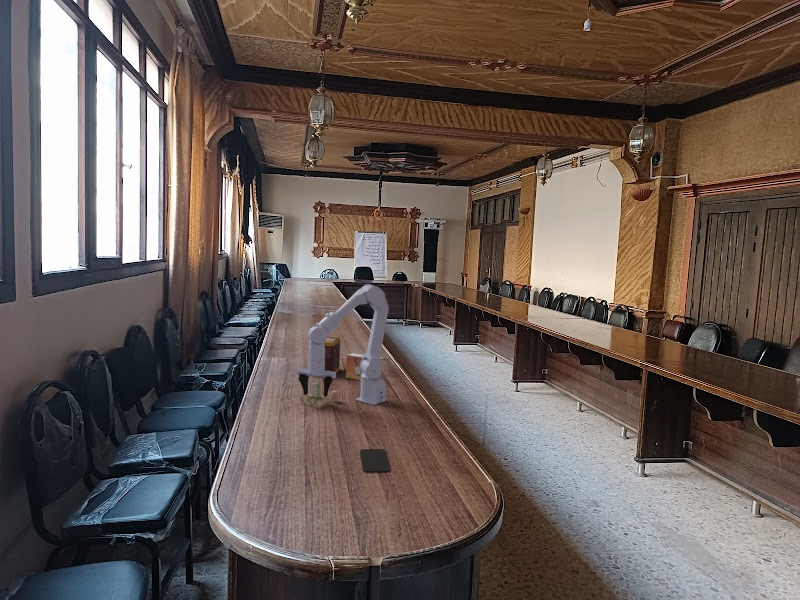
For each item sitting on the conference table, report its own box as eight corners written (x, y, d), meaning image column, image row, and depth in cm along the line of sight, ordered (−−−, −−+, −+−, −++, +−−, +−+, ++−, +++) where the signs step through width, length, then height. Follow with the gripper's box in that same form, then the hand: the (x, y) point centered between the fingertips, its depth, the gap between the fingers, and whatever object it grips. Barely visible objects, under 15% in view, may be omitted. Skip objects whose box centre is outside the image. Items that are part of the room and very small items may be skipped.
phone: (362, 471, 143) (359, 449, 158) (362, 474, 143) (359, 451, 158) (390, 470, 144) (385, 448, 159) (390, 473, 144) (384, 451, 159)
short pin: (339, 401, 204) (339, 391, 204) (334, 403, 202) (334, 392, 202) (334, 400, 206) (334, 390, 205) (329, 401, 203) (329, 391, 203)
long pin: (320, 403, 201) (320, 383, 201) (317, 405, 199) (317, 385, 198) (313, 402, 202) (314, 382, 201) (310, 404, 200) (311, 384, 199)
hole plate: (331, 404, 200) (331, 398, 200) (319, 408, 195) (319, 401, 195) (311, 399, 206) (311, 392, 206) (300, 402, 201) (300, 396, 201)
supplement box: (339, 369, 255) (340, 336, 253) (332, 377, 240) (333, 342, 238) (318, 367, 256) (318, 335, 254) (309, 375, 241) (310, 341, 239)
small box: (345, 378, 239) (346, 354, 238) (352, 375, 244) (353, 352, 243) (360, 380, 235) (361, 357, 234) (367, 378, 240) (368, 354, 239)
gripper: (338, 358, 201) (337, 394, 203) (301, 355, 204) (301, 390, 205) (332, 362, 194) (332, 399, 196) (294, 359, 197) (294, 395, 198)
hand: (315, 395), depth 200 cm, fingers open, 7 cm apart
